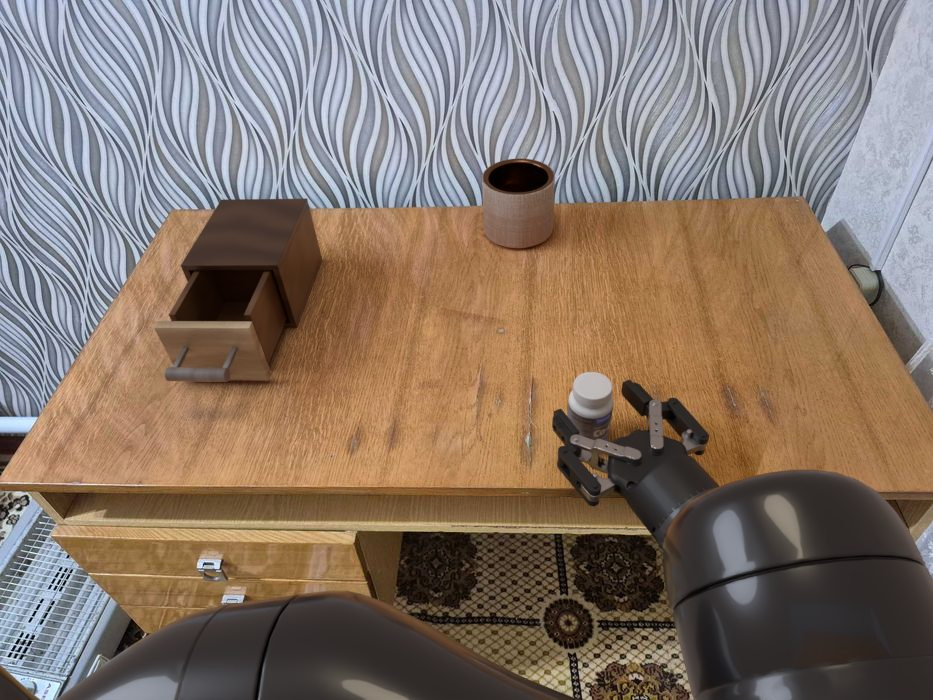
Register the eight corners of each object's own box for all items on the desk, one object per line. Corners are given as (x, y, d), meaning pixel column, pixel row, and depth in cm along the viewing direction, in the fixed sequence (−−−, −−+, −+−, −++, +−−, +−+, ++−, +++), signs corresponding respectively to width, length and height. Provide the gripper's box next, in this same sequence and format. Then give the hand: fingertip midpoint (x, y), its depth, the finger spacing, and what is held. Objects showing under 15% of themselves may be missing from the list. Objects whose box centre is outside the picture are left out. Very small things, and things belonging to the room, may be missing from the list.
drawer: (257, 411, 78) (235, 359, 72) (164, 410, 79) (135, 358, 73) (298, 304, 92) (282, 252, 86) (219, 304, 93) (198, 253, 87)
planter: (542, 256, 98) (544, 200, 92) (473, 244, 101) (470, 189, 95) (560, 217, 105) (563, 162, 99) (496, 207, 108) (494, 153, 102)
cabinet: (297, 328, 90) (277, 265, 82) (207, 327, 91) (180, 265, 83) (322, 259, 101) (307, 198, 93) (242, 259, 102) (221, 199, 94)
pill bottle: (597, 459, 71) (604, 408, 66) (558, 442, 73) (561, 391, 68) (615, 429, 74) (623, 378, 68) (576, 413, 76) (581, 362, 70)
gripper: (765, 463, 58) (650, 351, 69) (632, 530, 54) (532, 400, 65) (744, 510, 64) (641, 399, 74) (622, 574, 60) (531, 447, 70)
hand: (590, 400), depth 70 cm, fingers open, 8 cm apart
